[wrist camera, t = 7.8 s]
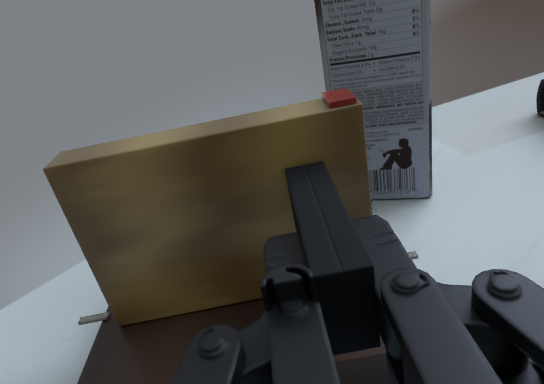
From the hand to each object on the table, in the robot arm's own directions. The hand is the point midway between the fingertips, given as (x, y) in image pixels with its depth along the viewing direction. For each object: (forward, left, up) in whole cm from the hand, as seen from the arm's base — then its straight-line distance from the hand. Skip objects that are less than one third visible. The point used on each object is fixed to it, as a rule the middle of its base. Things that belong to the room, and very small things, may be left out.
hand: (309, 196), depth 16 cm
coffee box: (-5, +15, -7) cm, 17 cm away
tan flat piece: (-3, -2, -5) cm, 6 cm away
